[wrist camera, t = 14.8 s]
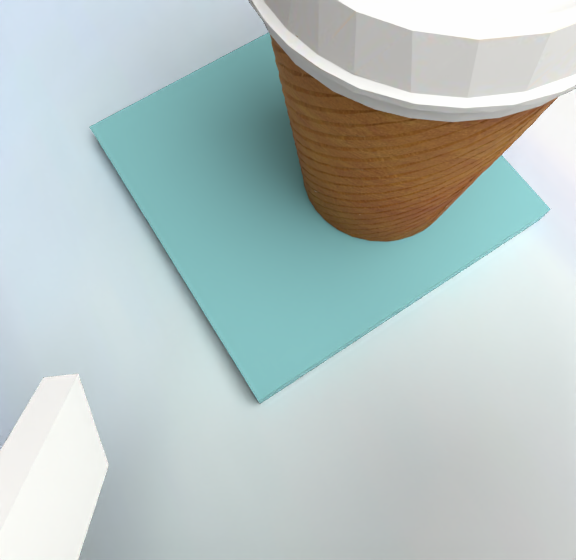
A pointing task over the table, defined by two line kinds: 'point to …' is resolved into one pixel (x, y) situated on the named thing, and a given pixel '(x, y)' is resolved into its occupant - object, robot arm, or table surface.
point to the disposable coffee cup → (412, 98)
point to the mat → (282, 221)
